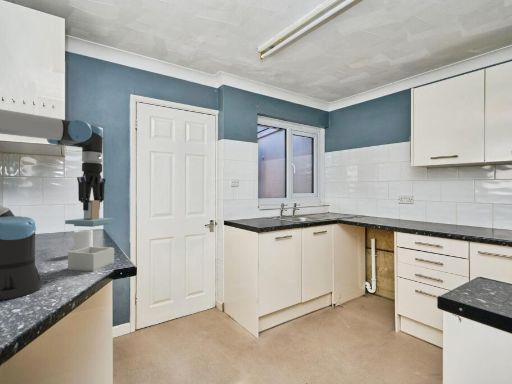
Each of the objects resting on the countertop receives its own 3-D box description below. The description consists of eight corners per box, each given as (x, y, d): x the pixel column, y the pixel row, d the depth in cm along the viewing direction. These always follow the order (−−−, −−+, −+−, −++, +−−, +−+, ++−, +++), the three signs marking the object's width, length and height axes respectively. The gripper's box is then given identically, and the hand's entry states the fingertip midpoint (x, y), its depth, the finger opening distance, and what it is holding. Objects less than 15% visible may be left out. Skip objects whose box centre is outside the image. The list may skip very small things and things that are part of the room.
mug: (64, 258, 132) (64, 232, 132) (65, 254, 139) (66, 230, 139) (93, 255, 138) (93, 231, 138) (93, 252, 145) (93, 229, 145)
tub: (93, 271, 111) (93, 253, 111) (67, 269, 113) (67, 252, 113) (114, 263, 123) (114, 247, 123) (90, 262, 125) (90, 246, 125)
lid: (93, 227, 110) (93, 201, 110) (65, 226, 113) (65, 200, 113) (115, 224, 123) (115, 200, 123) (89, 223, 125) (90, 199, 125)
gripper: (84, 160, 109) (83, 220, 109) (113, 164, 126) (113, 216, 125) (67, 160, 110) (66, 219, 110) (99, 164, 127) (98, 216, 127)
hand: (91, 217), depth 118 cm, fingers closed on lid, 4 cm apart
